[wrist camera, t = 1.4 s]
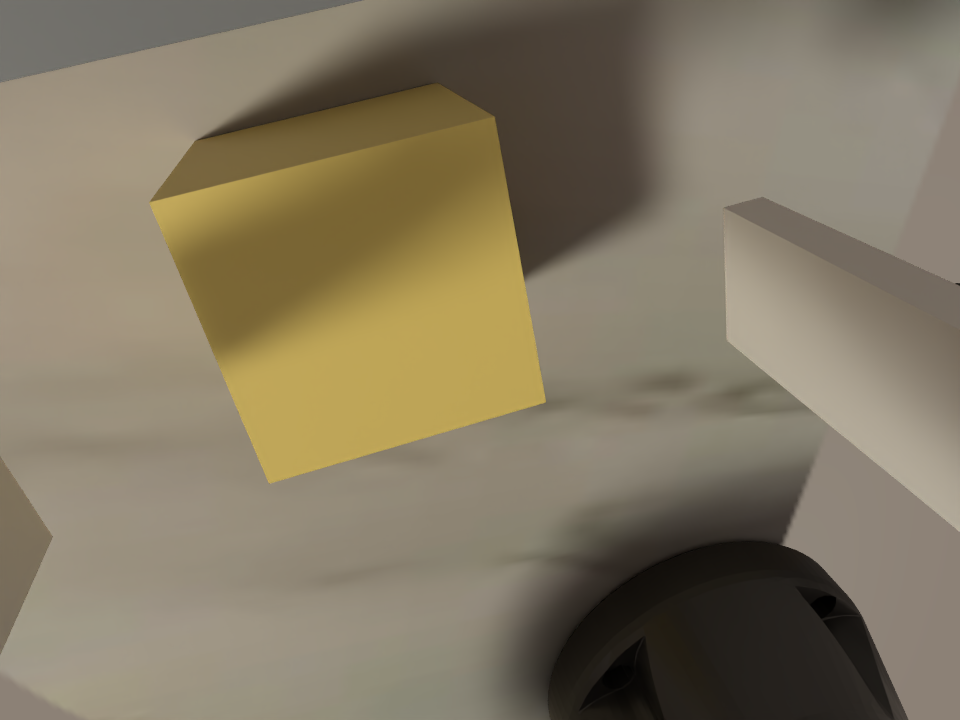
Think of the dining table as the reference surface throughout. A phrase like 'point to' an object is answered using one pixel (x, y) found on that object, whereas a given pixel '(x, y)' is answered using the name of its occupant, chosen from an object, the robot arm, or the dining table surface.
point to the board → (121, 27)
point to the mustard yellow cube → (356, 275)
